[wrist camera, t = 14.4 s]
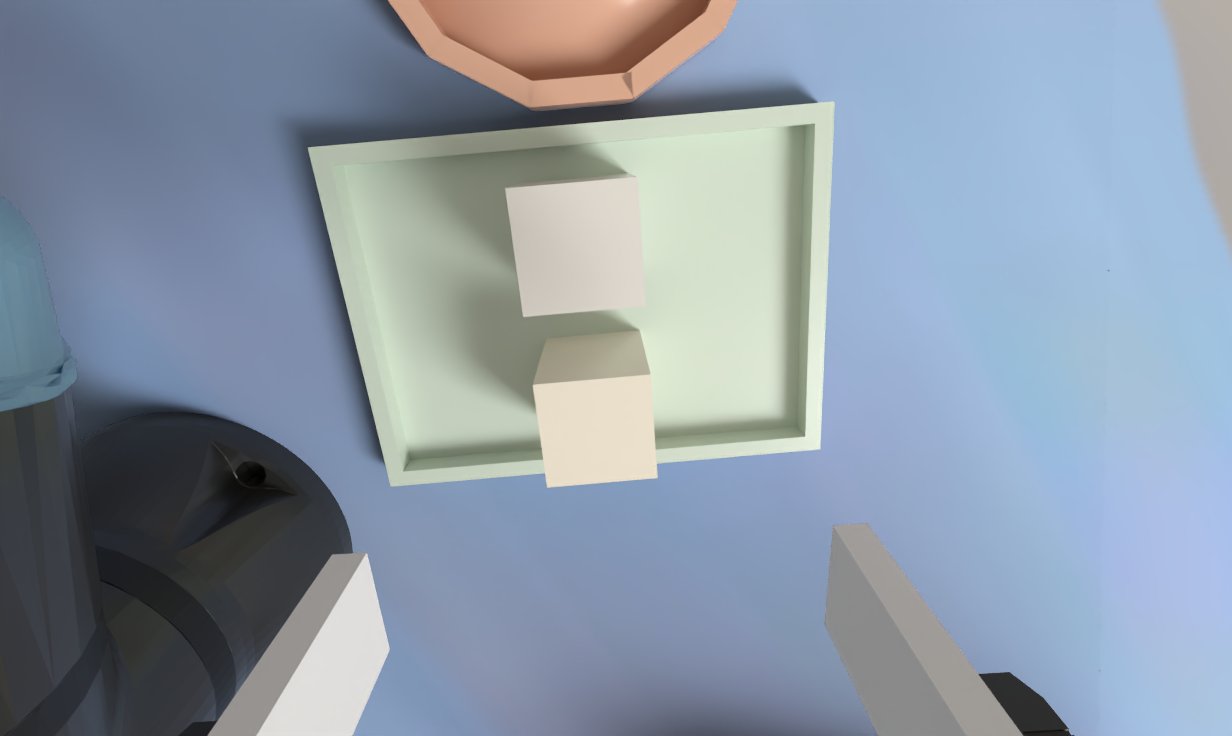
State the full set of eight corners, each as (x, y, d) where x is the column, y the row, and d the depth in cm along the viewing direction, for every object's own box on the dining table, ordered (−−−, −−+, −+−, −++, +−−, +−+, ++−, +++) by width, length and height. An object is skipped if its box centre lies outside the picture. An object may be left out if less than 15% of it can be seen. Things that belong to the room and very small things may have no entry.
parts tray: (400, 471, 30) (390, 486, 28) (324, 148, 24) (307, 147, 23) (809, 435, 30) (820, 449, 28) (820, 105, 24) (834, 101, 23)
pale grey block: (539, 283, 26) (523, 316, 21) (526, 182, 25) (505, 188, 19) (636, 275, 26) (646, 306, 21) (628, 173, 25) (637, 176, 19)
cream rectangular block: (557, 423, 29) (547, 487, 23) (546, 338, 27) (532, 384, 22) (645, 415, 29) (657, 478, 23) (639, 330, 27) (650, 374, 22)
